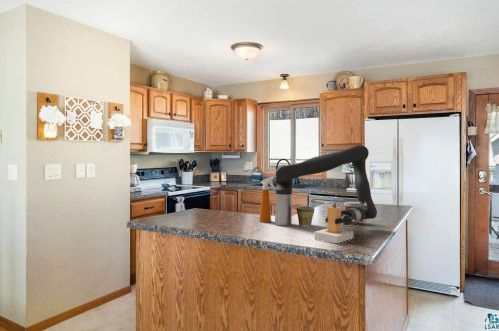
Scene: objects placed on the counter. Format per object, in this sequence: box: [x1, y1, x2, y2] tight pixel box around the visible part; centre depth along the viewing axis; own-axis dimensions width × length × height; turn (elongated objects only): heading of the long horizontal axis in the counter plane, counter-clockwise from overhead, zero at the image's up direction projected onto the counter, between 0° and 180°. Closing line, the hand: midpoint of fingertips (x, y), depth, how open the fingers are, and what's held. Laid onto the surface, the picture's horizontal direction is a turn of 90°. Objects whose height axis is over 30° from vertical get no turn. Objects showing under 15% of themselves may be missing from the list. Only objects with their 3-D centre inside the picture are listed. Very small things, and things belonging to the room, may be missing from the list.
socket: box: [314, 228, 354, 244], centre depth 163 cm, size 14×12×4 cm
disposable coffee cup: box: [343, 200, 362, 225], centre depth 200 cm, size 10×10×12 cm
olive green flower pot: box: [295, 205, 316, 228], centre depth 194 cm, size 13×10×10 cm
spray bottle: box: [258, 176, 276, 223], centre depth 202 cm, size 7×11×26 cm, turn 57°
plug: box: [326, 202, 342, 234], centre depth 162 cm, size 4×4×16 cm
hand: (331, 221), depth 160 cm, fingers closed on plug, 4 cm apart
